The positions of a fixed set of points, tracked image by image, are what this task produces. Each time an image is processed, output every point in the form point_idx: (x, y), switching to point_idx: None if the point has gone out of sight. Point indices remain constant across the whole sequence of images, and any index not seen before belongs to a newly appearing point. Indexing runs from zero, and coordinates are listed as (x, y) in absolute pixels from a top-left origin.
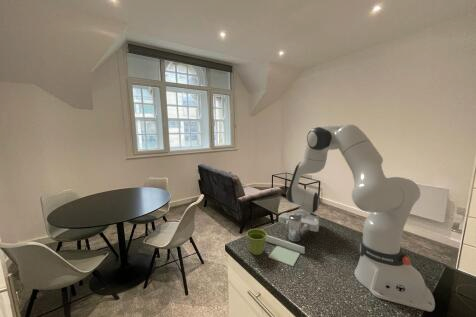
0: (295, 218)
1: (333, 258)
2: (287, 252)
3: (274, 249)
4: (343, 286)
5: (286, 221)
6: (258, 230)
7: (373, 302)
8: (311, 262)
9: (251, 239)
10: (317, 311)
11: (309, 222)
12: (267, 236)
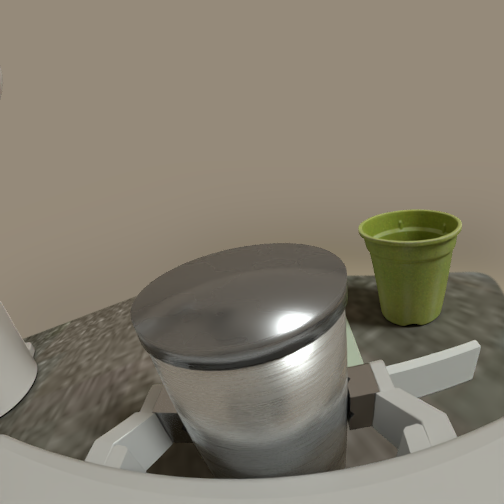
0: (220, 270)
1: (55, 445)
2: None
3: (358, 355)
4: (85, 346)
5: (422, 402)
6: (444, 240)
7: (48, 338)
8: None
9: (397, 219)
10: None
11: (39, 477)
12: (453, 349)
